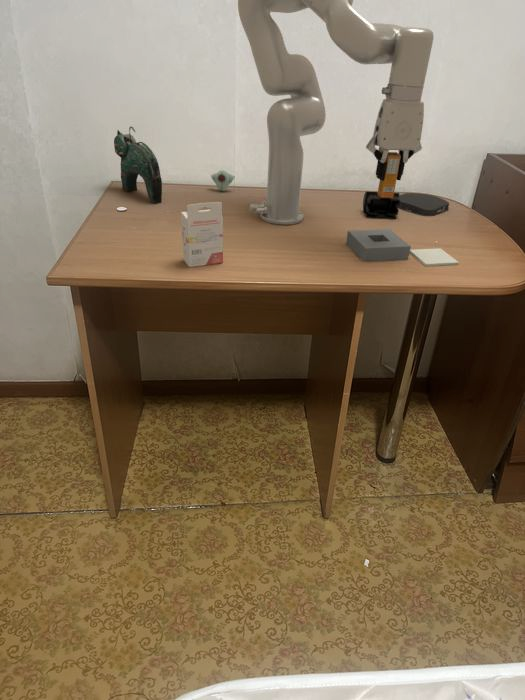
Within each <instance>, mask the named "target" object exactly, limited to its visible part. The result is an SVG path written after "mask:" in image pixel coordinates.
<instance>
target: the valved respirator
mask: <svg viewBox="0 0 525 700" xmlns="http://www.w3.org/2000/svg"><path fill="white" fill-rule="evenodd" d="M210 177H211V180H212V181H213V182H214V183H215V185H216V187H217V189H218V190H219V191H222V192H224V191H226V190H227V189H228V188H229V186H230V184H231V183H232V182H233V181H234V179H236V176H235V175H233V174H230V173H228V172H227V171H226V170H224V169H223V170H219V171H218V172H216V173H212V174H210Z"/></svg>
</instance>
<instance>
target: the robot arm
mask: <svg viewBox="0 0 525 700" xmlns="http://www.w3.org/2000/svg"><path fill="white" fill-rule="evenodd" d="M353 3H354V0H237V9H238V10H237V11H238V16H239V18H240V20H239V21H240V23H241V25H242V28H243V30H244V33H245V34H246V38H247V40H248V43H249V46H250V50H251V53H252V57H253V60H254V63H255V67H256V70H257V74H258V77H259V80H260V83H261V86H262V88H263V90H264V92H265V93H266V94H267V95H270V96H274V97H275V96H276V97H279V96H281V97H282V96H290V97H288V98H283V99H280V100H277V101H276V102H274V103H273V104H272V105H271V106H270V108H269V110H268V111H267V116H266V126H267V137H268V162H267V163H268V167H267V183H266V184H267V185H266V199H263V202H260V203H259V204H258V203H250V204H249V211H250V212H255V213H259V214H260V218H261V219H262V221H265V222H267V223H270V224H274V225H281V226H282V225H283V226H284V225H296V224H298V223H301V222H302V221H303V220H304V213H303V212H302V211H300V201H301V200H300V199H301V189H302V179H303V168H304V167H303V166H304V149H303V144H302V142H301V137H304V136H308V135H314V134H316V133H317V132H319V131H321V129H322V128H323V127H324V125H325V122H326V115H327V114H326V107H325V102H324V99H323V96H322V95H323V94H322V91H321V88H320V85H319V81H318V77H317V73H316V71H315V68H314V65H313V64H312V62H311V61H310V60H309V59H308V58H307V57H306V56H304V55H302V54H299V53H298V54H297V53H293V54H291V53H289V52H288V50H287V47H286V44H285V40H284V37H283V33H282V31H281V29H280V27H279V26H278V24H277V22H275V20H274V19H273V17H272V15H271V13H281V14H282V13H283V14H291V13H297V12H300V11H303V10H306V9H310V10H311V11H312V12H313V13H315V15H316V16H317V17H318V18H320V19H321V20H322V22H324V23H325V26H326V30H327V33H328V36H330V39H331V40H332V42H333V43H334V45H336V46H337V47H338V48H339V49H340V51H342V52H343V53H344V54H345V55H347V56H348V57H349V58H350V59H351V60H353V61H355V63H358V64H361V65H385V64H391V65H390V67H391V68H390V73H389V78H388V83H387V85H386V87H385V86H384V87H382V89H381V94H382V95H384V96H385V98H384V99H382V102H381V105H380V107H379V111H378V113H377V116H376V120H375V123H374V124H375V125H374V129H373V134H372V135H373V136H372V137H371V139H370V140H369V141H368V142H367V144H366V146H365V149H366V150H368V151H369V152H370V153H372V154H373V156H374V157H375V158H376V160H377V163H376V169H375V177H376V179H378V180H379V181H380V180H384V179H385V174H386V168H387V163H385V162H386V158H387V155H388V152H390V151H398V152H397V153H398V154H399V155H401V158H400V163H399V169H398V174H397V180H396V181H401V179H402V176H403V175H404V169H405V166H406V165H405V164H407V163H408V161H409V159H410V158H412V156H413V155H414V154H416V153H418V152H420V151H421V150H422V148H423V147H422V144H421V139H422V133H423V127H424V126H423V125H424V116H425V114H424V113H425V112H424V111H425V106H424V105H425V102H424V101H421V100H422V96H423V93H424V92H423V91H424V88H425V87H424V86H425V81H426V76H427V72H428V69H429V68H428V67H429V62H430V58H431V53H432V48H433V43H434V32H433V31H432V30H431V29H429V28H422V27H412V26H411V27H409V26H408V27H407V26H406V27H405V26H404V27H403V26H401V25H397V24H392V23H379V22H378V23H376V22H374V23H373V22H370V21H368V20H367V19H365V18H364V16H362V15H361V14H360V13H359V12H358V11H356V10H355V9H354V8H353V6H352V5H353ZM376 146H377V147H378V148H376Z"/></svg>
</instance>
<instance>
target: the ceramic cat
mask: <svg viewBox="0 0 525 700" xmlns="http://www.w3.org/2000/svg"><path fill="white" fill-rule="evenodd" d="M131 129H132V131H133V132H134V133H136V129H135V128H134V127H133V126H129V129H128V133H127V134H126V133H125V134H123V133H121V131H120V130H119V129H117V132H116V134H117V135H115V137H114V139H113V146H114V147H113V148H114V152H115V154H116V155H117V156H119V157H120V179H121V188H122V191H123V192H126V193H133V192H137V191H138V186H137V185H138V184H137V183H138V181H137V179H138V177H139V176H140V177H141V178H142V181H143V182H144V185H145V189H146V193H147V194H146V195H147V198H148V202H149V203H150V204H154V205H156V204H161V203H162V200H163V198H162V195H163V180H162V177H161V170H160V166H159V162H158V159H157V156H156V155H155V153H154V151H153V150H152V148H150V147H149V146H148V145H147V144H146V143H145V142H143V141H138V142H137V141H136V139H135V137H134V136H133V135H132V134H131Z"/></svg>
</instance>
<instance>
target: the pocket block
mask: <svg viewBox="0 0 525 700" xmlns="http://www.w3.org/2000/svg"><path fill="white" fill-rule="evenodd" d="M345 244H346V245H347V246H348V248H350V249H351V250H352V252H354V253H355V255H356V256H357V257H358V258H359V259H360V260H361V261H362V263H363V262H364V263H365V262H387V261H388V262H389V261H401V260H402V261H404V260H409V256H410V253H409V252H410V250H411V248H412V247H411V245H410V244H409V243H408V242H406V241H405V240H404V239H402V237H400V236H399V235H398V234H397V233H396V232H395V231H393V230H392V229H390V228H383V229H382V228H381V229H379V228H378V229H361V230H360V229H357V230H356V229H355V230H347V234H346V240H345Z"/></svg>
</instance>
